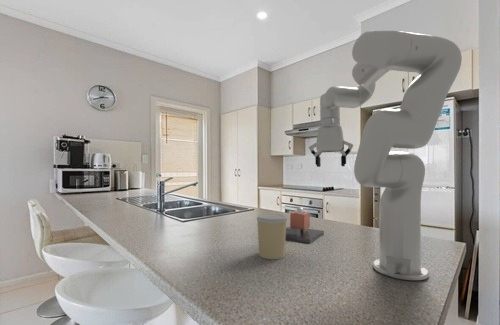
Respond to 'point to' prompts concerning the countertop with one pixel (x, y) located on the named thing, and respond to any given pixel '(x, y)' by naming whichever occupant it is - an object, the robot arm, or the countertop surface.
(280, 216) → the coffee cup
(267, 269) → the countertop surface
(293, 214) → the pink hollow cube
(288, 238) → the shaft base
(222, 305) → the countertop surface
